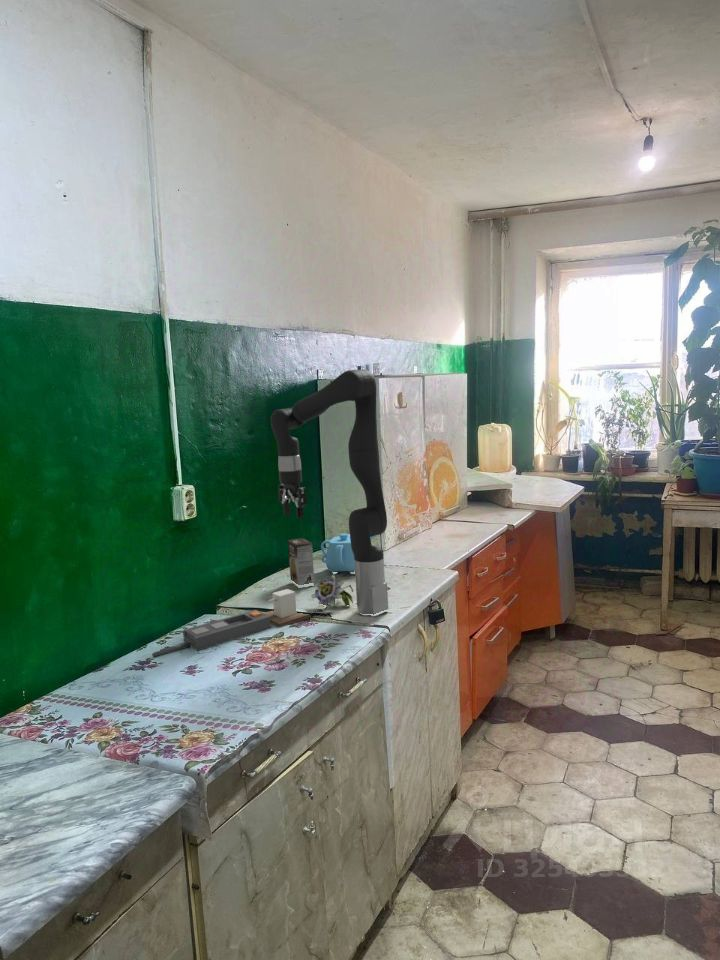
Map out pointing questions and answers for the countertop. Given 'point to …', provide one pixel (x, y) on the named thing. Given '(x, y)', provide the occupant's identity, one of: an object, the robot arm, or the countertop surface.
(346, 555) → the teapot
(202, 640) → the power strip
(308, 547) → the coffee box
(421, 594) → the countertop surface
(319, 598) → the passion flower
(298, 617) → the walnut pad
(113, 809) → the countertop surface
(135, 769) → the countertop surface
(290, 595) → the block
